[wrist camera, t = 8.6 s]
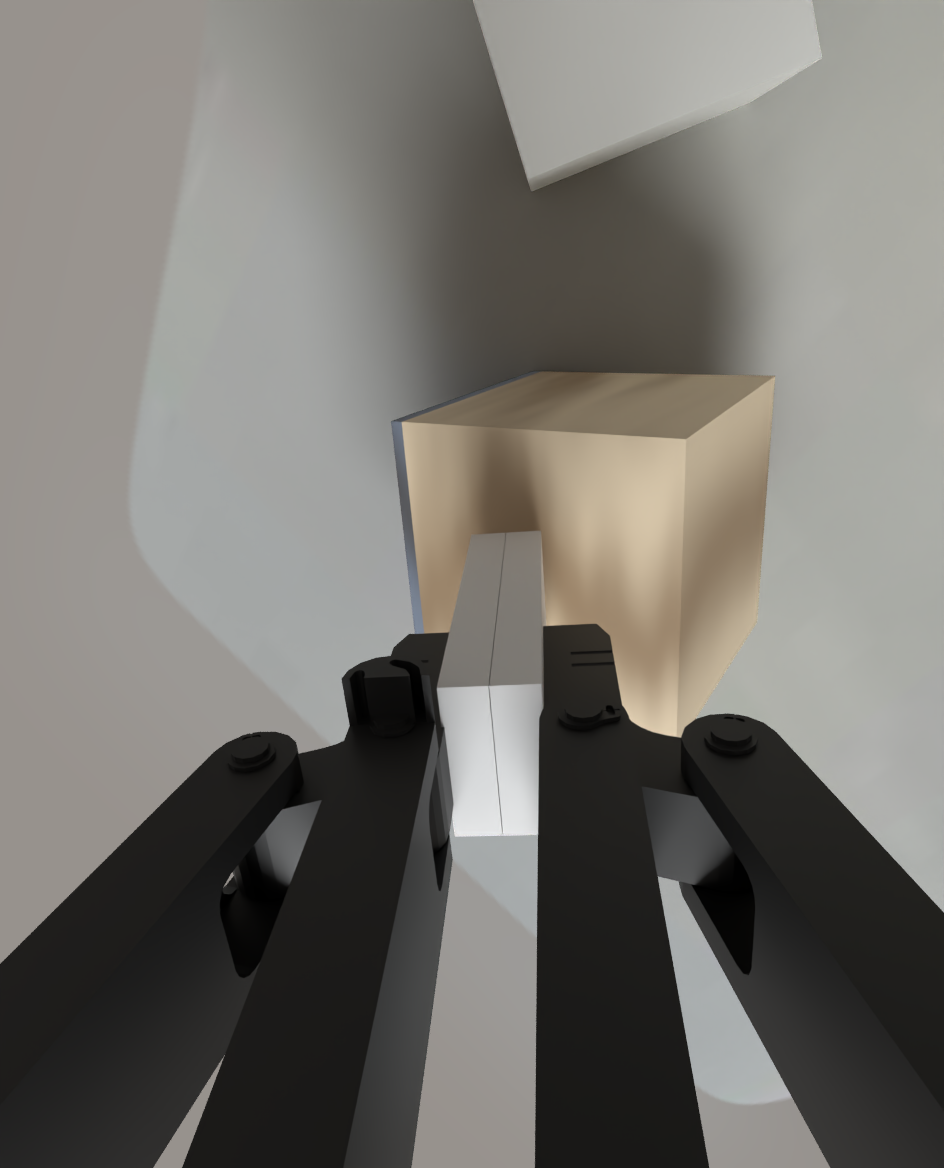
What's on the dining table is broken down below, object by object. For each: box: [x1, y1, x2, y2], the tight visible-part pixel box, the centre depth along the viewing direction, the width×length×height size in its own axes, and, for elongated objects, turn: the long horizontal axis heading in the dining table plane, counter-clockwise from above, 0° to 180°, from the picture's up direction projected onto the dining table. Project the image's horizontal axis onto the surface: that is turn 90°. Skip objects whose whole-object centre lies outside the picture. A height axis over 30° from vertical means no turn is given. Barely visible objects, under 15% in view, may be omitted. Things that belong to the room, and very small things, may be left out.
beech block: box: [391, 371, 775, 738], centre depth 21 cm, size 7×7×7 cm
